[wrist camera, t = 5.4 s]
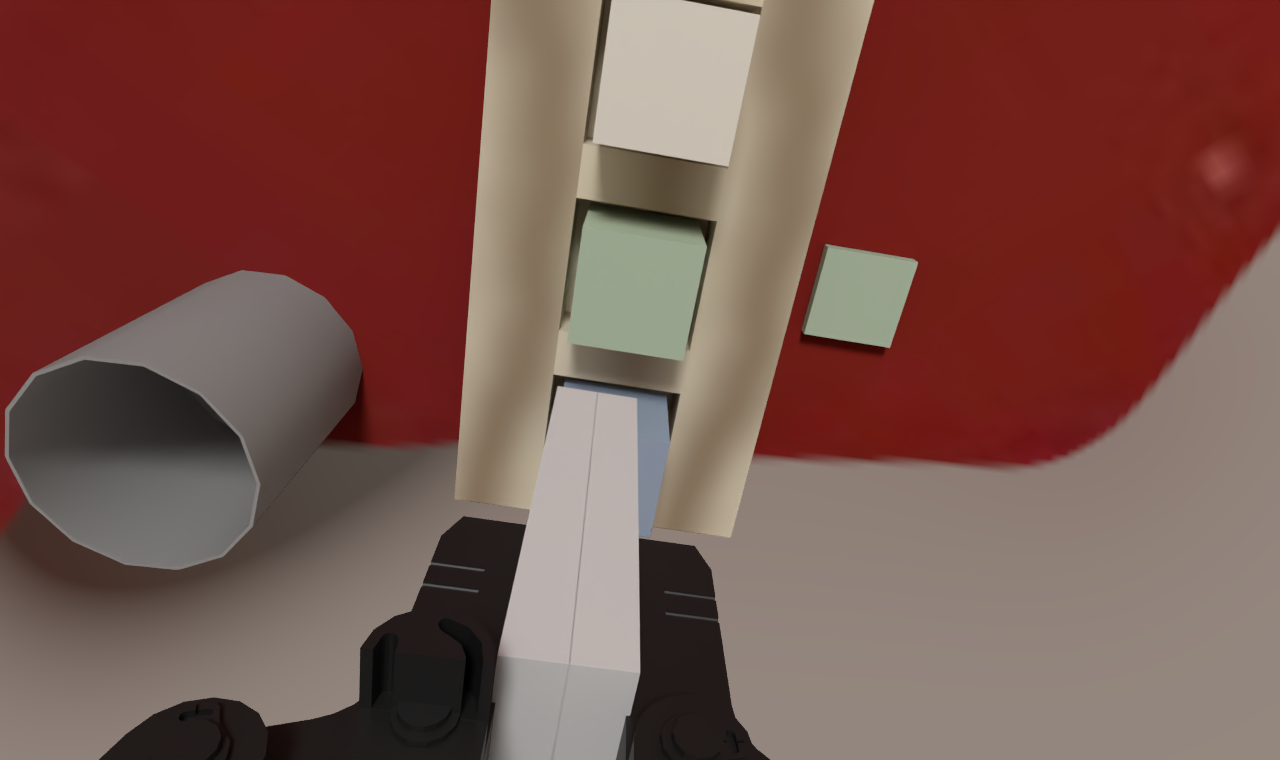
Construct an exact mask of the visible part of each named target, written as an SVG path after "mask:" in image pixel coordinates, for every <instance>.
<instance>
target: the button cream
mask: <svg viewBox="0 0 1280 760" xmlns="http://www.w3.org/2000/svg"><path fill="white" fill-rule="evenodd" d="M759 20H760V15H758V14H753V13H747V12H742V11H737V10H732V9H726V8H721V7H716V6H711V5H705V4H700V3H695V2H690V1H684V0H612V1H611V9H610V16H609V24H608V31H607V39H606V46H605V53H604V61H603V68H602V76H601V83H600V91H599V98H598V105H597V113H596V120H595V128H594V135H593V143H597V144H602V145H608V146H614V147H619V148H625V149H631V150H637V151H642V152H648V153H654V154H659V155H665V156H671V157H677V158H682V159H688V160H694V161H699V162H705V163H711V164H716V165H722V166H728V167H729V162H730V157H731V152H732V148H733V143H734V138H735V133H736V129H737V124H738V119H739V115H740V110H741V105H742V100H743V96H744V91H745V86H746V81H747V77H748V72H749V67H750V62H751V58H752V53H753V48H754V44H755V39H756V34H757V29H758V25H759Z"/></svg>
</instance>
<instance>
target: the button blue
mask: <svg viewBox="0 0 1280 760" xmlns="http://www.w3.org/2000/svg"><path fill="white" fill-rule="evenodd" d="M564 387H567V388H573V389H580V390H586V391H593V392H599V393H606V394H612V395H619V396H625V397H632V398H637V439H638V523H639V536H642V537H650V535H651V531H652V526H653V522H654V517H655V512H656V507H657V503H658V498H659V493H660V488H661V484H662V479H663V474H664V469H665V465H666V460H667V455H668V451H669V446H670V436H669V423H668V410H667V396H666V393H659V392H653V391H646V390H640V389H633V388H627V387H620V386H614V385H607V384H600V383H594V382H587V381H581V380H574V379H568V378H565V383H564Z"/></svg>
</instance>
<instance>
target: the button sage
mask: <svg viewBox="0 0 1280 760" xmlns="http://www.w3.org/2000/svg"><path fill="white" fill-rule="evenodd" d="M706 249H707V246H706V243H705V240H704V237H703V234H702V231H701V228H700V225H699V223H698V221H696V220H690V219H684V218H678V217H672V216H666V215H660V214H654V213H648V212H642V211H637V210H631V209H625V208H619V207H613V206H607V205H601V204H595V203H591V204H590V207H589V209H588V212H587V215H586V218H585V221H584V224H583V228H582V236H581V243H580V250H579V258H578V265H577V273H576V280H575V287H574V295H573V302H572V309H571V317H570V324H569V332H568V339H567V343H571V344H577V345H583V346H590V347H596V348H603V349H609V350H615V351H622V352H628V353H635V354H641V355H647V356H654V357H660V358H667V359H673V360H679V361H683V359H684V355H685V350H686V345H687V340H688V335H689V331H690V326H691V321H692V316H693V311H694V307H695V302H696V297H697V292H698V288H699V283H700V278H701V273H702V268H703V264H704V259H705V254H706Z"/></svg>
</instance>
